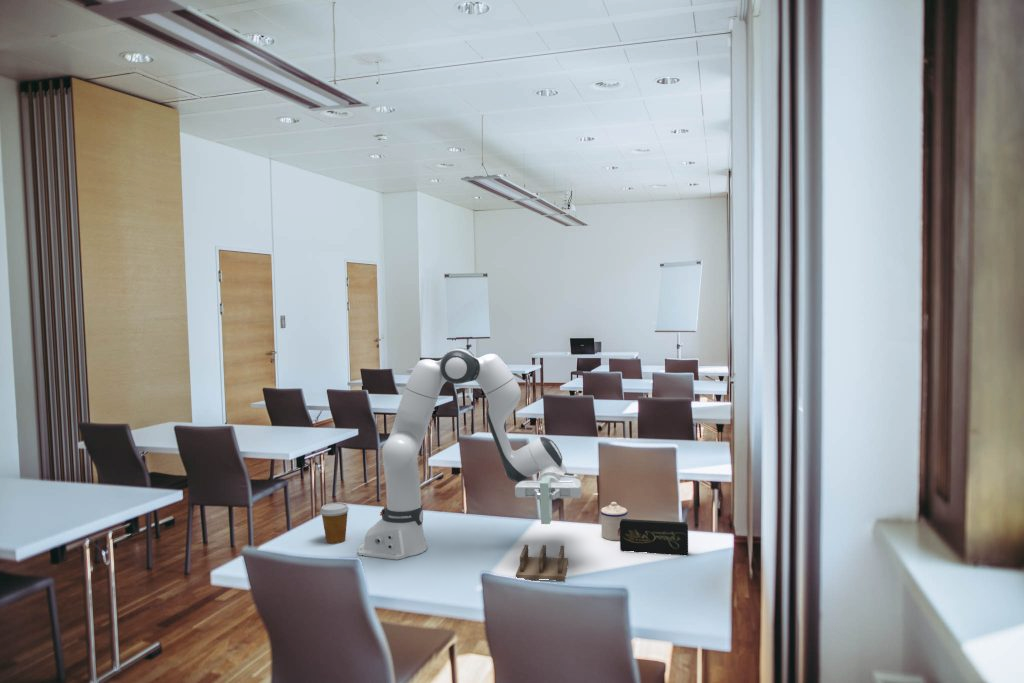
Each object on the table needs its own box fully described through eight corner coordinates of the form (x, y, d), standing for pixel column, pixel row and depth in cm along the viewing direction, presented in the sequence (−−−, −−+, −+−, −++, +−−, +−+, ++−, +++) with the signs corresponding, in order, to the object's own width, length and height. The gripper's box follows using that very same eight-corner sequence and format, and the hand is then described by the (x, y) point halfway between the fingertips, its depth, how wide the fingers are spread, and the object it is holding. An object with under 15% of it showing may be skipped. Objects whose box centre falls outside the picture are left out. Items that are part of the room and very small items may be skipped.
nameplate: (688, 553, 210) (687, 522, 210) (688, 556, 208) (687, 524, 208) (620, 549, 216) (620, 518, 215) (620, 551, 214) (619, 520, 213)
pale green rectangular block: (541, 524, 195) (539, 483, 195) (544, 516, 202) (542, 477, 202) (549, 524, 195) (548, 483, 194) (552, 516, 202) (550, 477, 201)
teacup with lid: (622, 542, 221) (621, 507, 221) (596, 538, 226) (596, 504, 225) (634, 531, 232) (634, 498, 231) (610, 528, 236) (609, 495, 236)
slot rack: (515, 579, 194) (515, 559, 193) (523, 561, 207) (522, 542, 207) (564, 581, 191) (563, 560, 191) (568, 563, 205) (568, 543, 205)
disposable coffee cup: (350, 543, 227) (348, 508, 227) (321, 546, 225) (319, 511, 225) (349, 534, 237) (348, 501, 236) (321, 537, 234) (320, 503, 234)
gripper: (517, 474, 212) (510, 486, 199) (582, 474, 209) (579, 486, 195) (518, 493, 213) (511, 507, 199) (583, 494, 209) (580, 507, 196)
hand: (545, 496), depth 197 cm, fingers closed on pale green rectangular block, 2 cm apart
